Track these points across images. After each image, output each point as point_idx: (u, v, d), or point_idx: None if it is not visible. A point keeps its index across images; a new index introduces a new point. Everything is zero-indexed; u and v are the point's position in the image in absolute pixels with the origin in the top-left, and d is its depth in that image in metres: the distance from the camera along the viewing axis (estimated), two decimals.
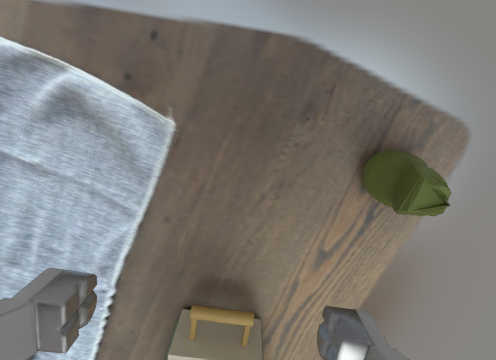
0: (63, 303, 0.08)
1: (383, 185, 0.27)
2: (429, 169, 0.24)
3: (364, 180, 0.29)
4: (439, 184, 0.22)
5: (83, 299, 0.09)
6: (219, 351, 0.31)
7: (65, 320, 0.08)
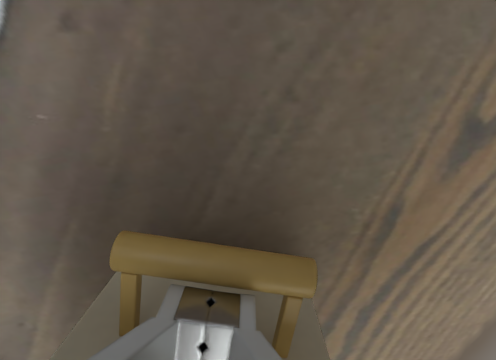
0: (204, 322, 0.08)
1: None
2: None
3: None
4: None
5: None
6: None
7: (204, 338, 0.08)
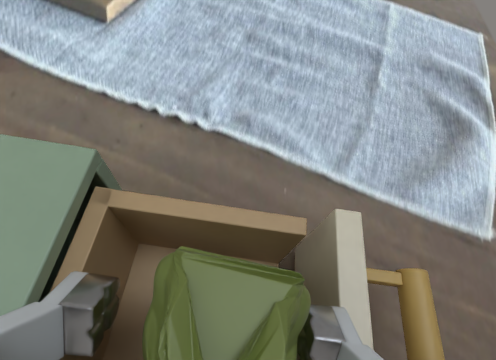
0: (91, 307, 0.08)
1: None
2: (296, 348, 0.08)
3: None
4: (286, 339, 0.06)
5: (108, 302, 0.09)
6: None
7: (93, 324, 0.08)
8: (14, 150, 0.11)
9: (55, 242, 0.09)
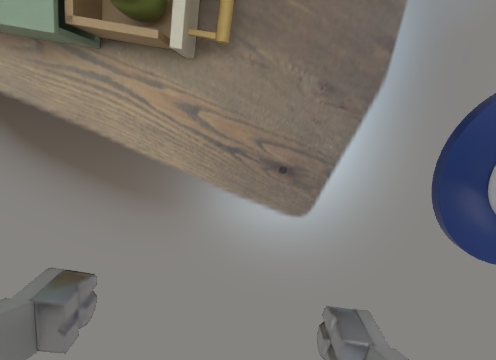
0: (63, 303, 0.08)
1: None
2: None
3: None
4: None
5: (83, 299, 0.09)
6: None
7: (65, 320, 0.08)
8: None
9: None
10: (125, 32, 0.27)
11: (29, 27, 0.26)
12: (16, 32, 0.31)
